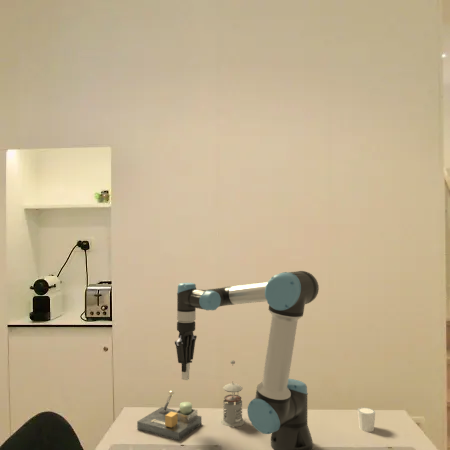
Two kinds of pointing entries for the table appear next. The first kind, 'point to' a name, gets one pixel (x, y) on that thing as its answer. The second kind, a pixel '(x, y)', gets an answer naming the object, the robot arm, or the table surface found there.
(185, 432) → the panel
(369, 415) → the white cylinder
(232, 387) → the french press
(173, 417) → the yellow cube
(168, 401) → the toggle lever
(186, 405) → the push button
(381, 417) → the table surface
